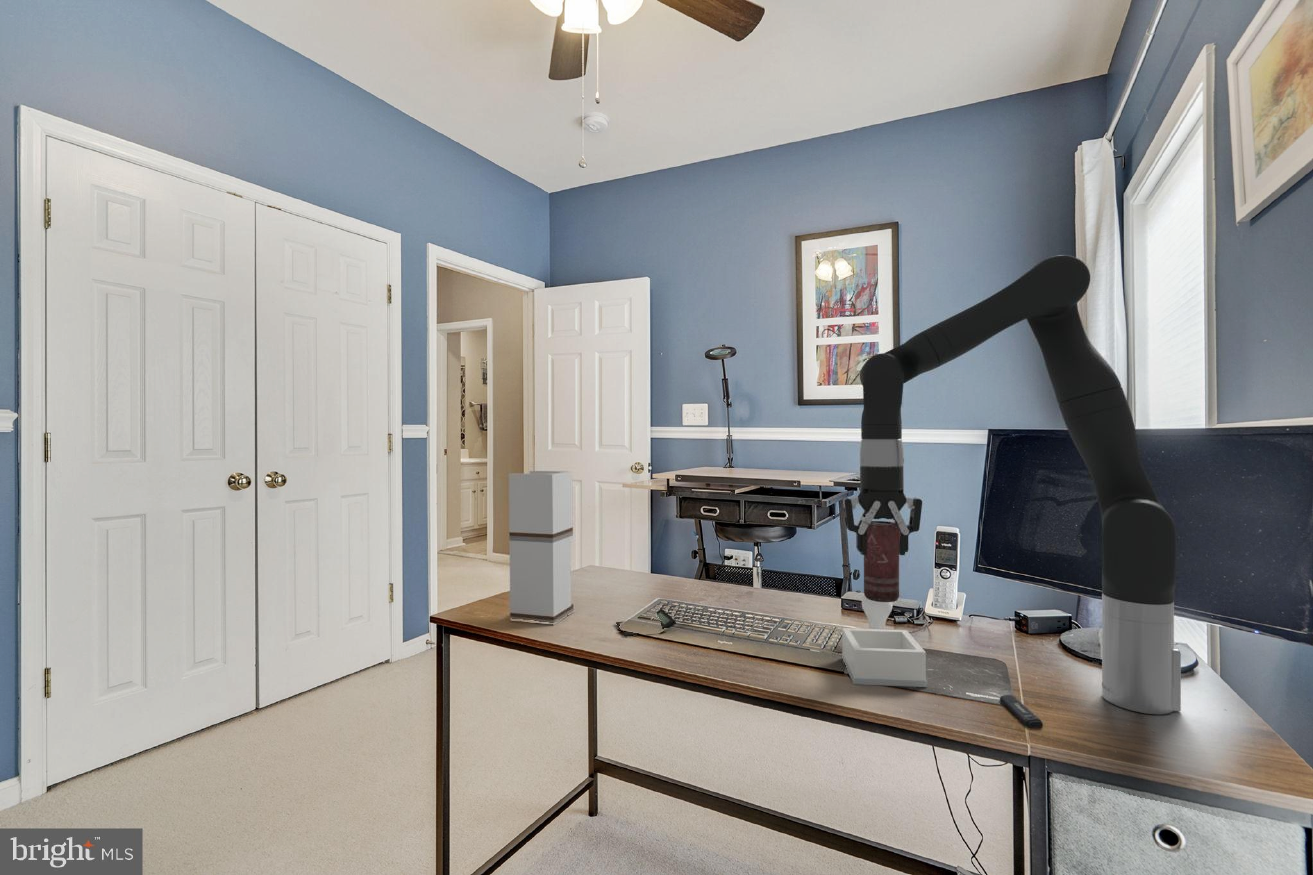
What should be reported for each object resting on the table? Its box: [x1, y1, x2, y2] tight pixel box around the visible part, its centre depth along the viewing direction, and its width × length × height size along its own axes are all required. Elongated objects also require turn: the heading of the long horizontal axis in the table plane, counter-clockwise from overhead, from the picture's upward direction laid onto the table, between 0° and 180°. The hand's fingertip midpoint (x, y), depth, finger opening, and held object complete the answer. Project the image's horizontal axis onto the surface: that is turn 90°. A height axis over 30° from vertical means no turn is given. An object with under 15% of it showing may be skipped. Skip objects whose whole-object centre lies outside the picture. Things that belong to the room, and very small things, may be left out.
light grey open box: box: [841, 627, 928, 688], centre depth 114 cm, size 12×12×6 cm
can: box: [863, 520, 901, 603], centre depth 114 cm, size 6×6×14 cm
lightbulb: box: [861, 594, 893, 630], centre depth 131 cm, size 6×6×11 cm
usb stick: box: [999, 694, 1044, 729], centre depth 97 cm, size 10×3×2 cm, turn 174°
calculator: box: [615, 608, 677, 637], centre depth 141 cm, size 9×12×3 cm
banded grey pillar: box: [508, 470, 574, 623], centre depth 150 cm, size 11×11×35 cm
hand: (882, 554), depth 114 cm, fingers closed on can, 6 cm apart
